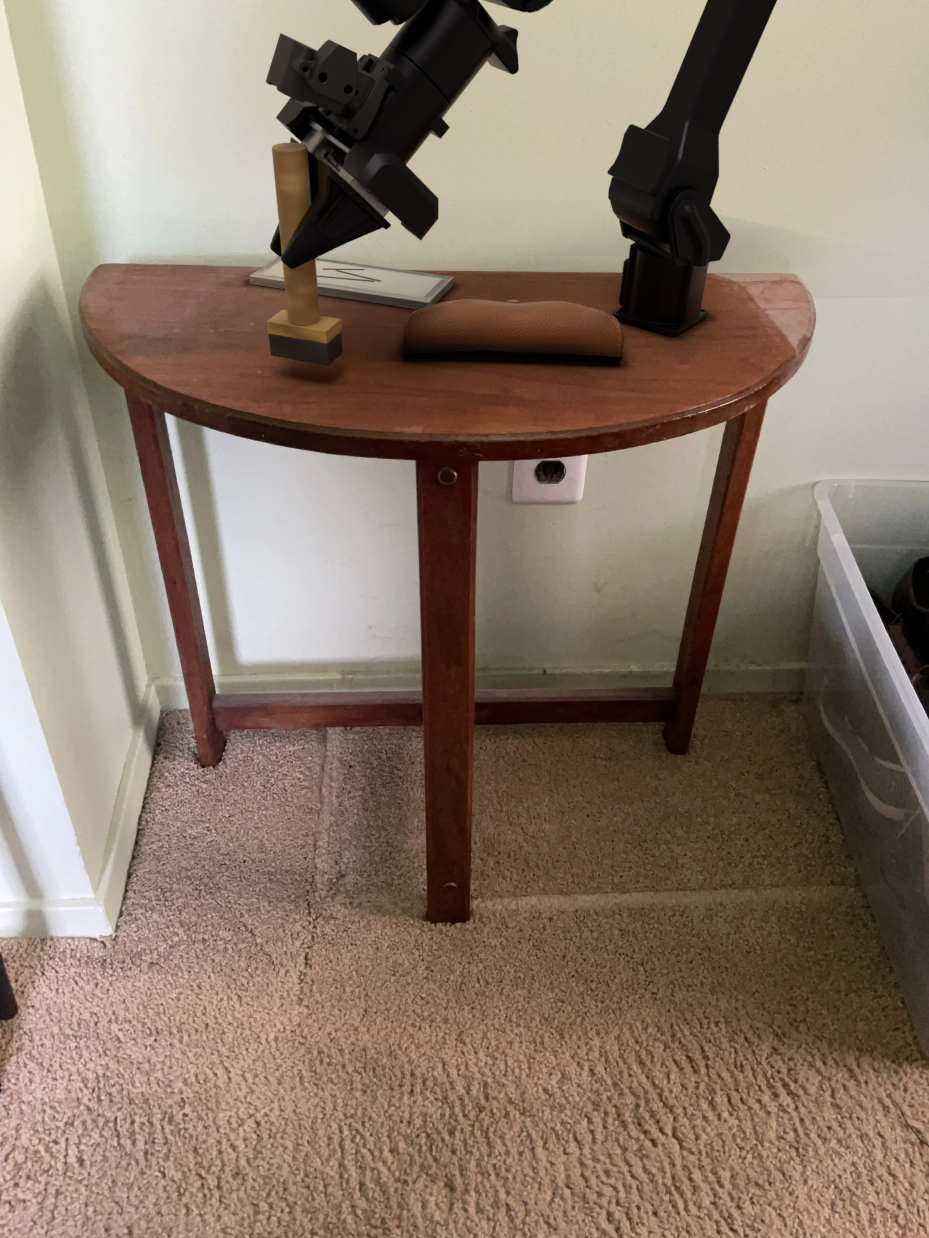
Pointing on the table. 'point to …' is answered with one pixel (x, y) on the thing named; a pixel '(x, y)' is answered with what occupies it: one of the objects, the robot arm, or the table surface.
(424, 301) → the board
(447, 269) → the table surface
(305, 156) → the tan piece
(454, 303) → the sunglasses case
